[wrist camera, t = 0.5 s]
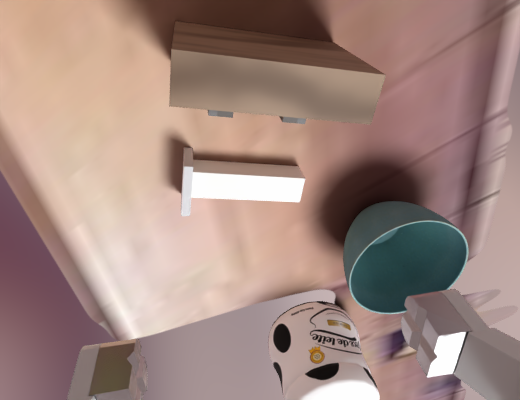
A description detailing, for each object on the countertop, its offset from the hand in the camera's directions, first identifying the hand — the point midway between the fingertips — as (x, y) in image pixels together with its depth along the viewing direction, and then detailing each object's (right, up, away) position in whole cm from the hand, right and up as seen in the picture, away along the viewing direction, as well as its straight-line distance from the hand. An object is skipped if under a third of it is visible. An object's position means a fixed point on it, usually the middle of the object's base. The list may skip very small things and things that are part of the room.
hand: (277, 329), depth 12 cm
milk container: (+9, -21, +68) cm, 72 cm away
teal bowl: (+19, 0, +57) cm, 60 cm away
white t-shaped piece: (-3, +8, +48) cm, 48 cm away
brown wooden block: (-1, +21, +39) cm, 45 cm away
